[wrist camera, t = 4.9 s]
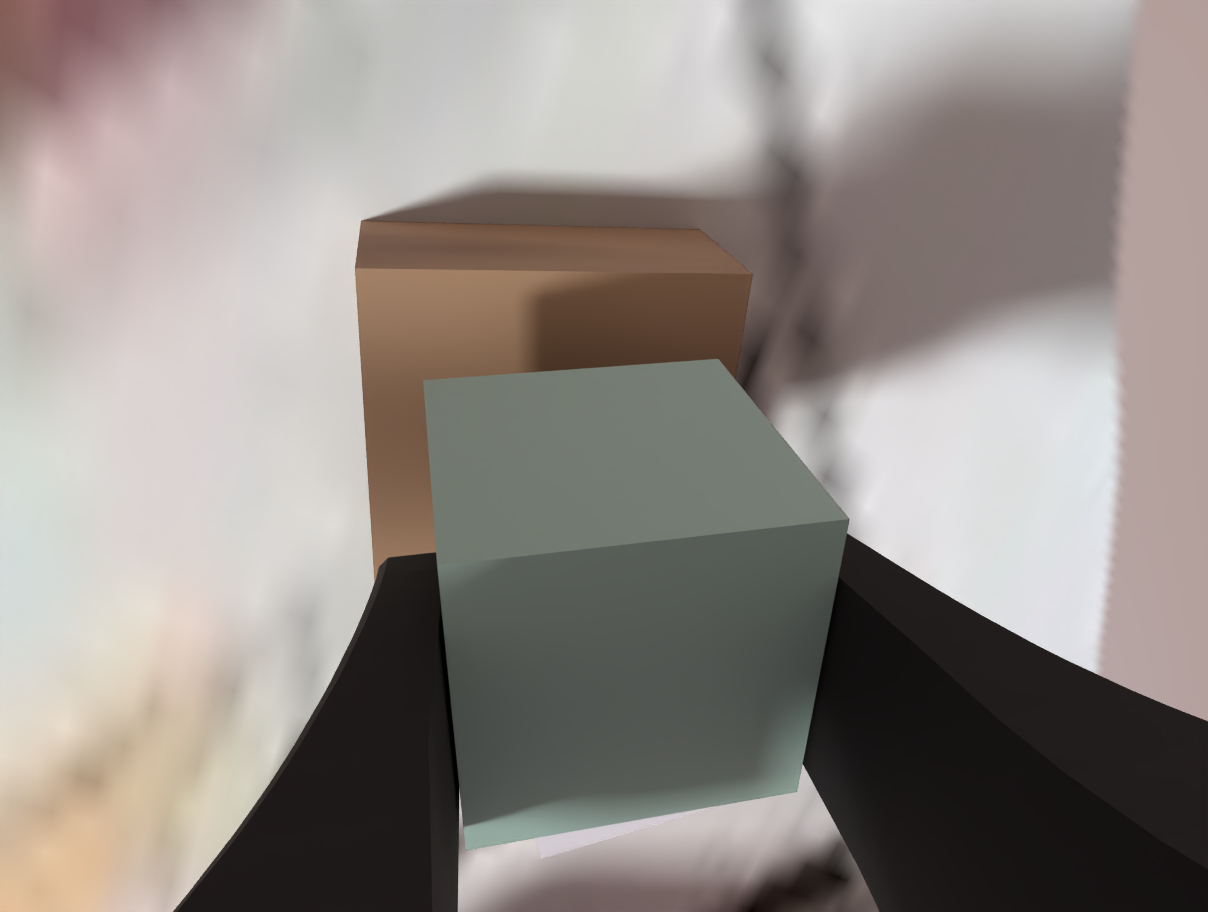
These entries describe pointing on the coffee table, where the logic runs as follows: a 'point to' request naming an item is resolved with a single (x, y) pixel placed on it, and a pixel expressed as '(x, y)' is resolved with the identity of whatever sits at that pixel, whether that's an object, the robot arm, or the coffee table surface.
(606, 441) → the green brick
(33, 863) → the coffee table surface
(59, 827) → the coffee table surface
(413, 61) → the coffee table surface
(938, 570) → the coffee table surface
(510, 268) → the walnut brick
